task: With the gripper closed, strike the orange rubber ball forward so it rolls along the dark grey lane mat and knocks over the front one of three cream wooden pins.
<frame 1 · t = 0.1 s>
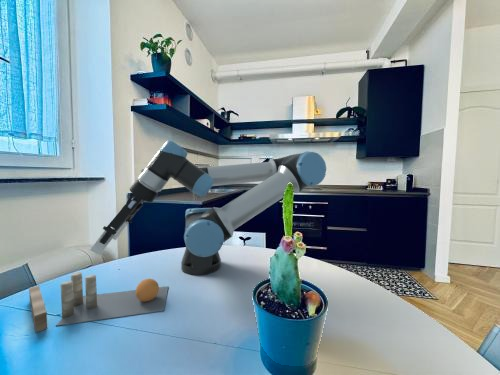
hand: (104, 244, 66), 15 cm above the table, tool tilted 35°, fingers open, 13 cm apart
ball: (147, 290, 64), resting on lane mat
pin 1: (68, 315, 57), resting on lane mat
lane mat: (120, 303, 62), on the table
back wall: (37, 313, 58), on the table
pin 2: (77, 304, 62), resting on lane mat
front pin: (91, 307, 60), resting on lane mat
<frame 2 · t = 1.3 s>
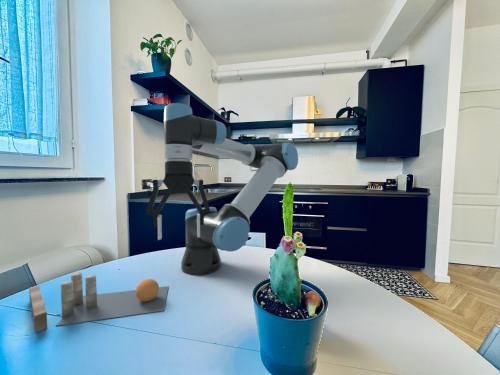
hand: (179, 237, 65), 18 cm above the table, tool pointing down, fingers open, 10 cm apart
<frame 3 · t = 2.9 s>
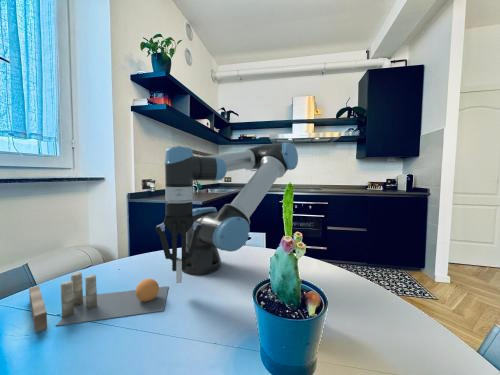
hand: (179, 280, 66), 5 cm above the table, tool pointing down, fingers closed
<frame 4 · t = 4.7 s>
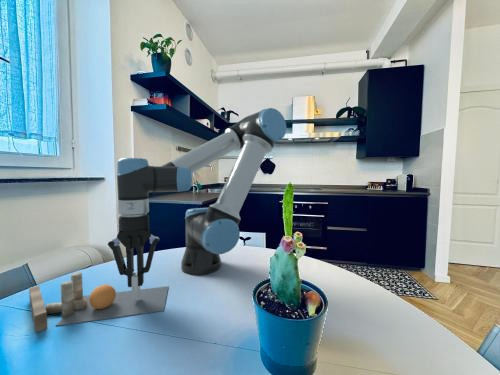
hand: (136, 296, 63), 1 cm above the table, tool pointing down, fingers closed
ball: (102, 296, 60), resting on lane mat
front pin: (85, 303, 60), point 1 cm above the table, tilted 90°
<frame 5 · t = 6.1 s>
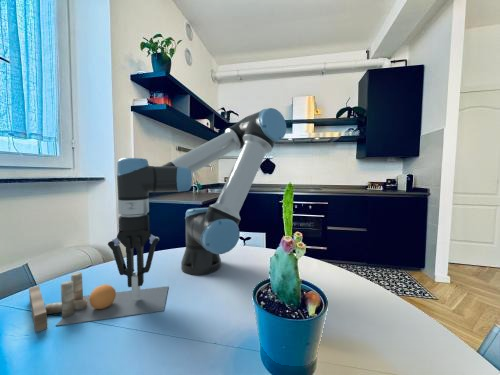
hand: (136, 296, 63), 1 cm above the table, tool pointing down, fingers closed
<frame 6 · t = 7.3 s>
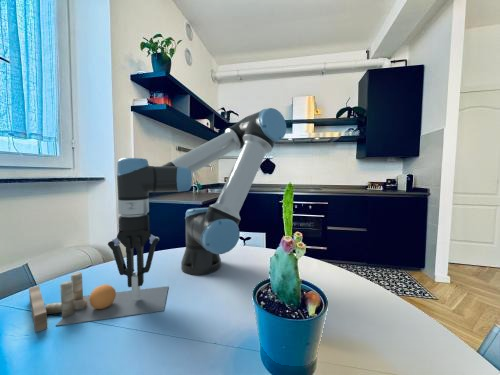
hand: (136, 296, 63), 1 cm above the table, tool pointing down, fingers closed
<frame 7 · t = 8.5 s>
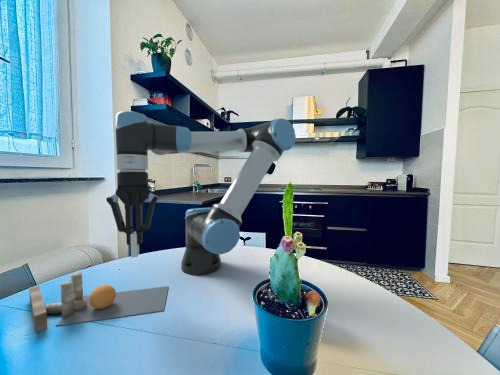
hand: (135, 255, 62), 13 cm above the table, tool pointing down, fingers closed
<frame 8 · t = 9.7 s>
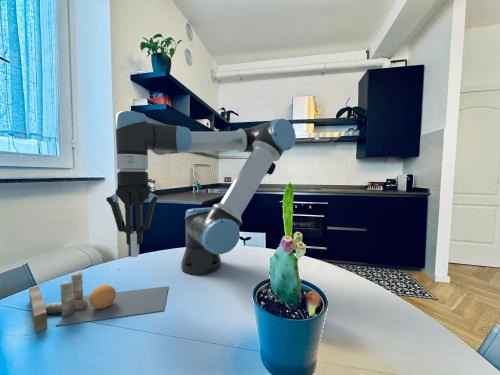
hand: (135, 255, 62), 13 cm above the table, tool pointing down, fingers closed
at the end: front pin tilted 90°; front pin never touched the robot; ball moved 11.0 cm from its start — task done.
